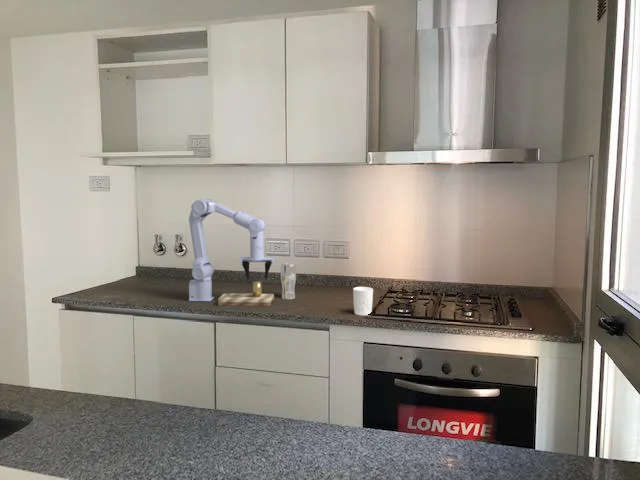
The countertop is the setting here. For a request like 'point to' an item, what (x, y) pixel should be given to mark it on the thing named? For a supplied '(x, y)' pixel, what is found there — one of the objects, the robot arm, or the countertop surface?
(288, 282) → the beer glass
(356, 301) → the white cup
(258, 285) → the brass peg
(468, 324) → the countertop surface
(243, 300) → the checkered wooden board
